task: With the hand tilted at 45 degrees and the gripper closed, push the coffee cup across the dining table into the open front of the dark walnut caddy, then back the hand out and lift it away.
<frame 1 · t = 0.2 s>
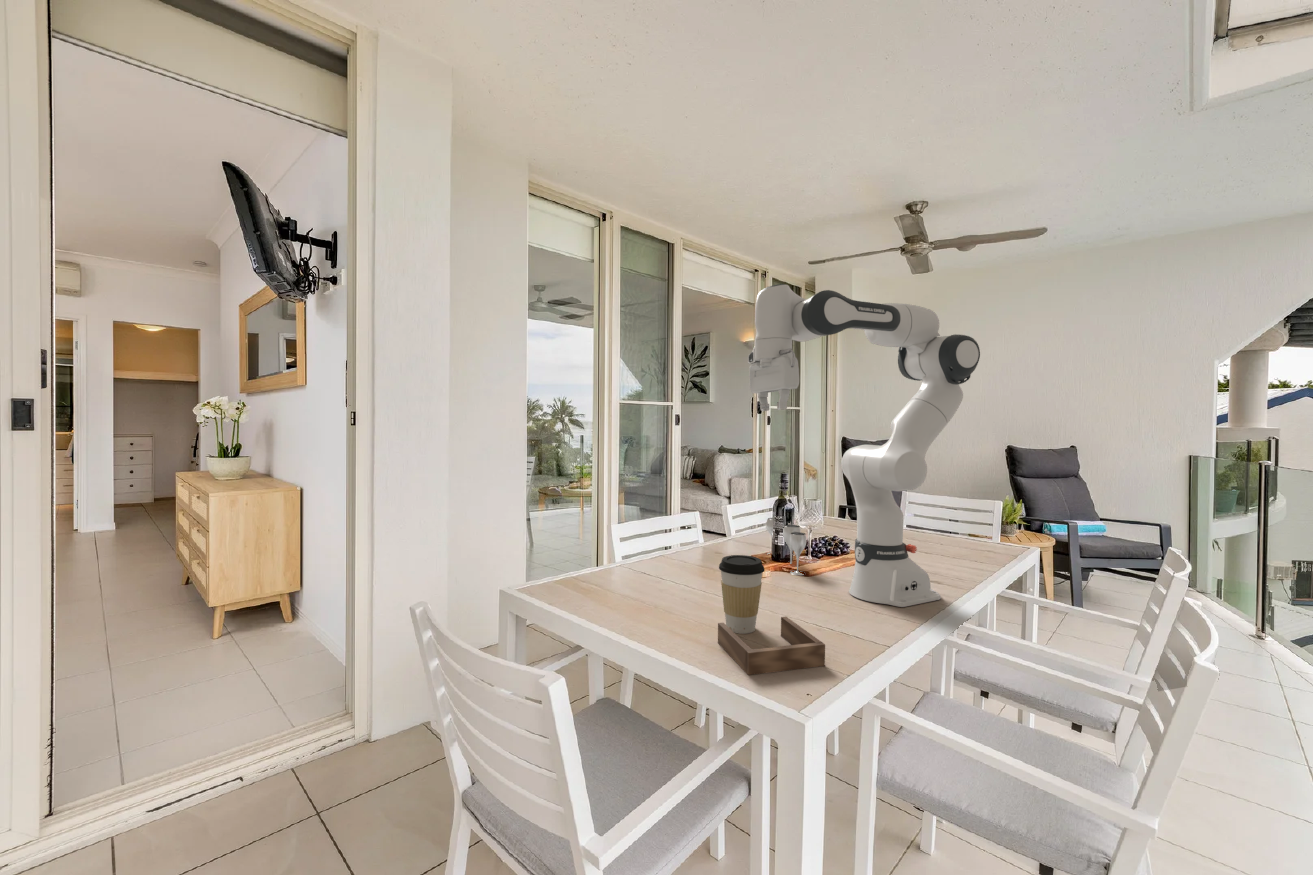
hand: (773, 410, 133), 48 cm above the table, fingers open, 8 cm apart
walnut caddy: (767, 652, 107), on the table
coffee cup: (740, 628, 120), on the table
goblet set: (784, 563, 175), on the table
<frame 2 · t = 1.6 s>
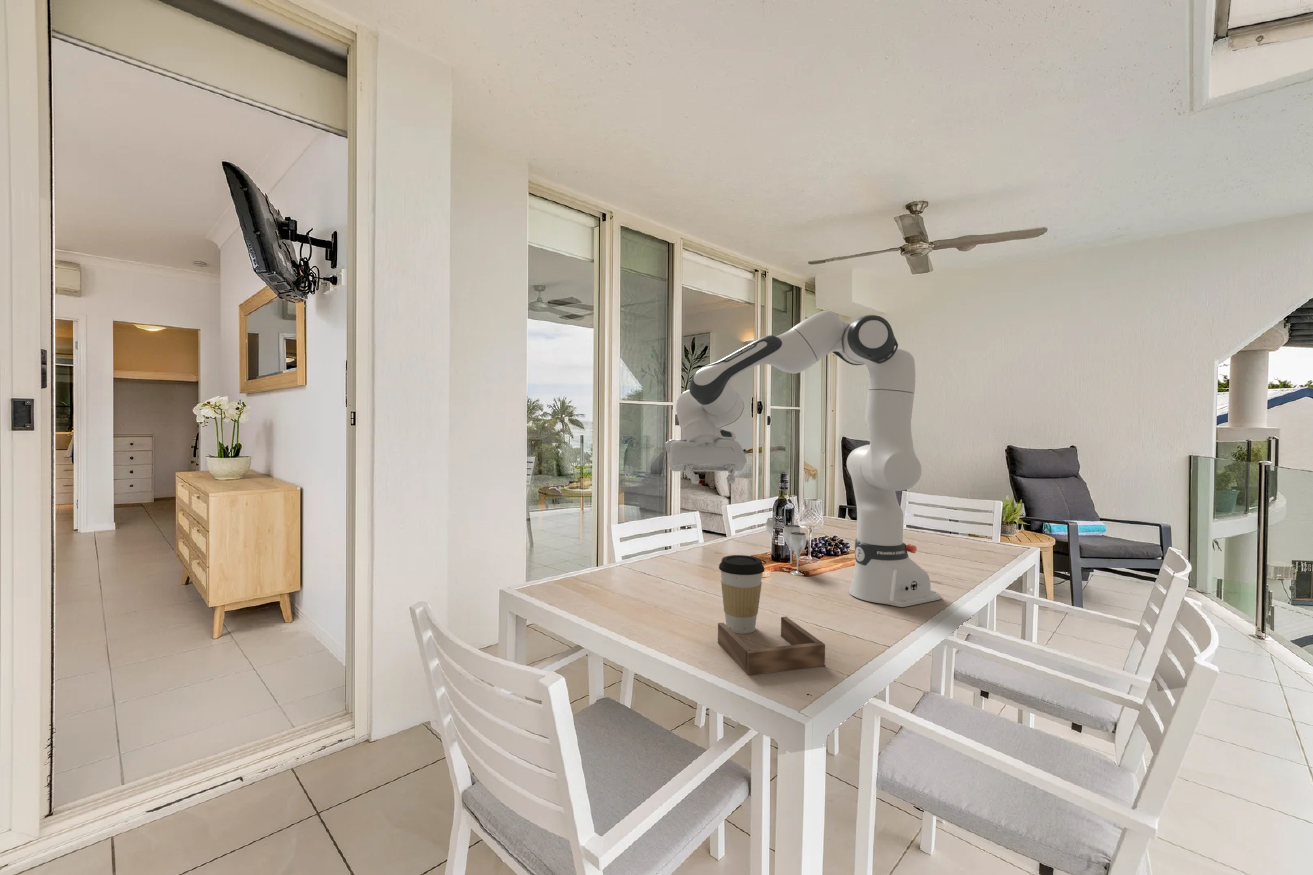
hand: (714, 482, 135), 30 cm above the table, fingers open, 8 cm apart
nothing on the table moved.
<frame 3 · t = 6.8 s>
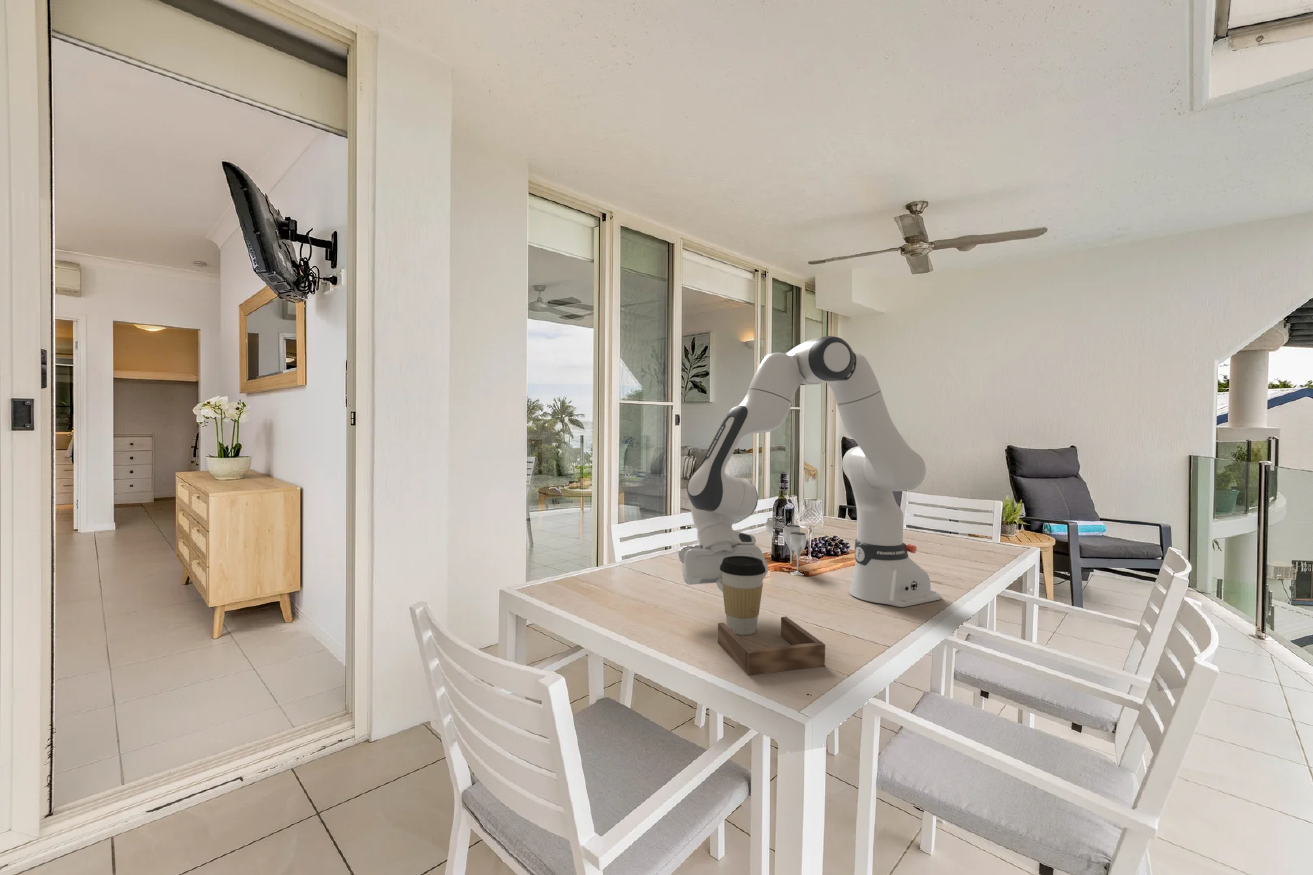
hand: (733, 598, 123), 5 cm above the table, fingers closed, pressing on coffee cup
coffee cup: (741, 630, 119), on the table, touching gripper
everything else where it was.
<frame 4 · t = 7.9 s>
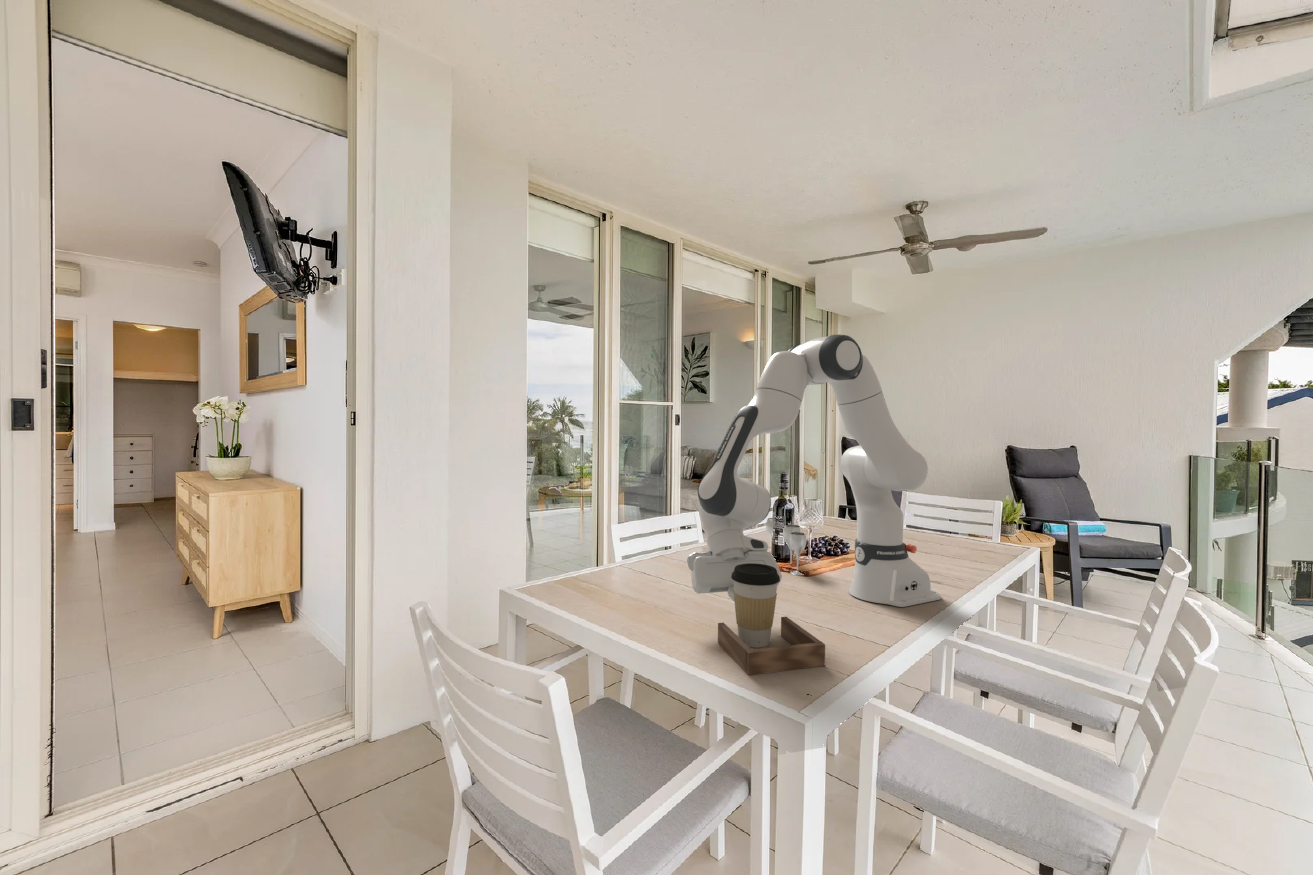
hand: (745, 607, 117), 5 cm above the table, fingers closed, pressing on coffee cup
coffee cup: (754, 642, 113), on the table, touching gripper
everything else where it was.
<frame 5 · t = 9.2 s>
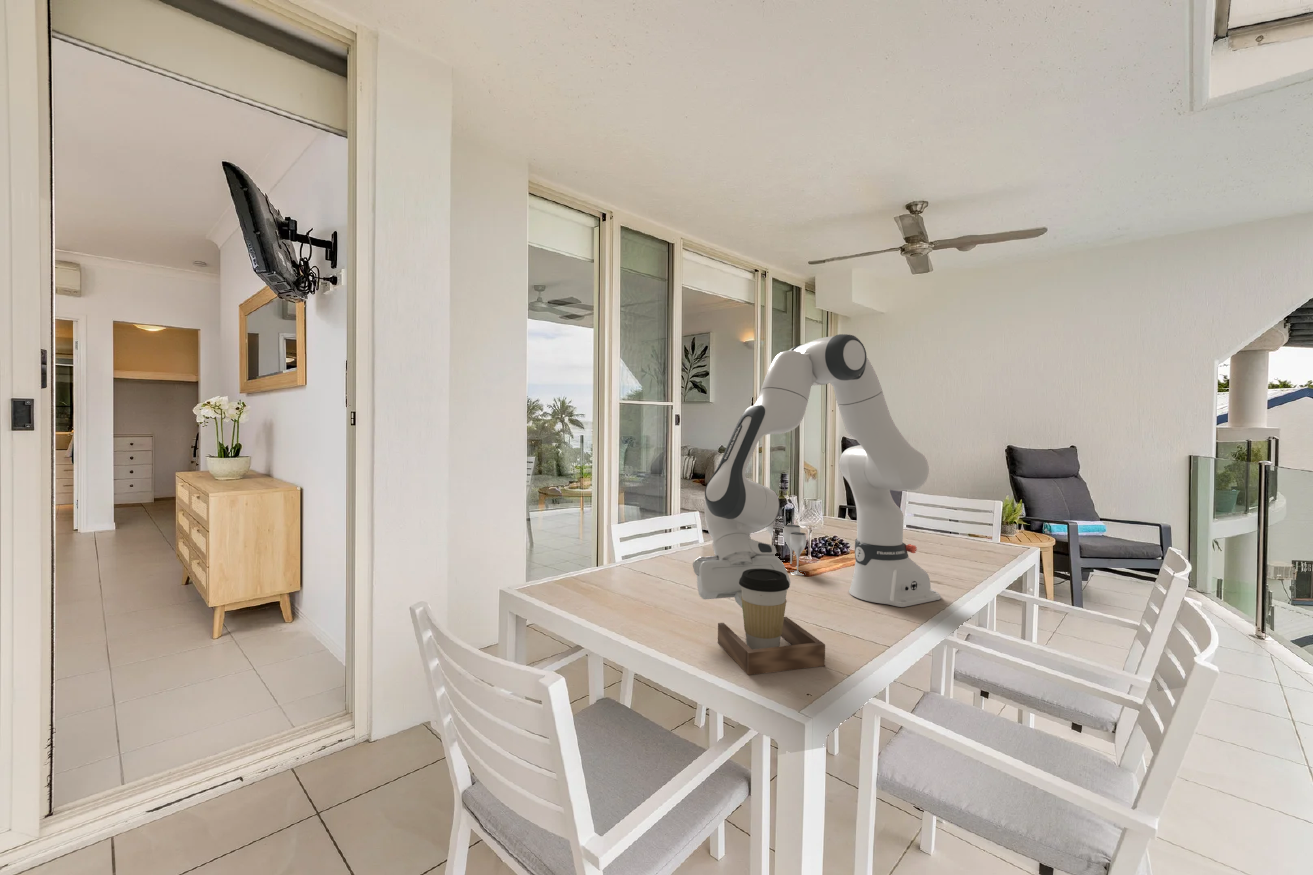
hand: (753, 614, 113), 5 cm above the table, fingers closed, pressing on coffee cup
coffee cup: (762, 650, 109), on the table, touching gripper
everything else where it was.
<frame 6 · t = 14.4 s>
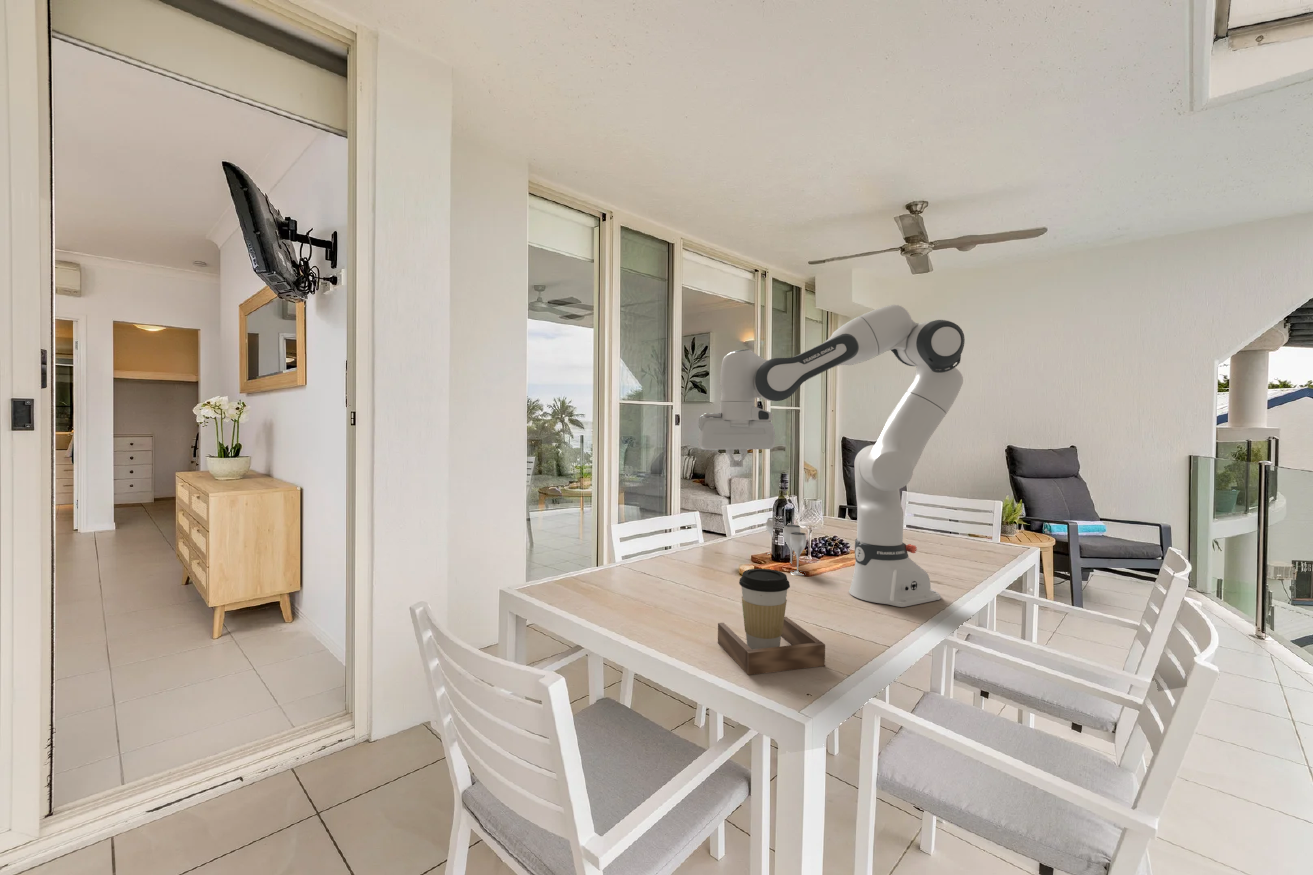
hand: (736, 467, 142), 33 cm above the table, fingers closed
coffee cup: (763, 650, 109), on the table
everything else where it was.
at the end: coffee cup inside the target area (1.9 cm from its centre), on the table; coffee cup tilted 0° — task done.
